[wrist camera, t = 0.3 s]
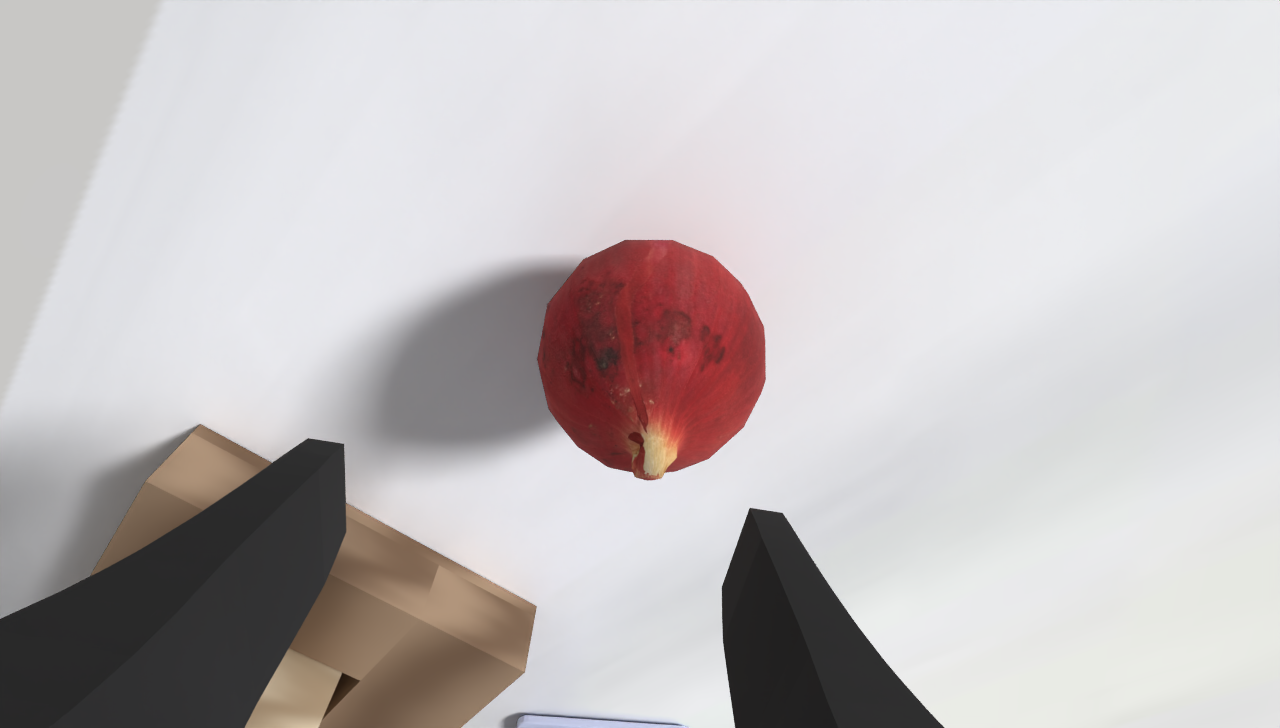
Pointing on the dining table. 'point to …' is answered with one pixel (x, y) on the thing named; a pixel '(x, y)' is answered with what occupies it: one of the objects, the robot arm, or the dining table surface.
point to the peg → (295, 694)
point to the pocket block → (363, 603)
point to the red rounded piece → (651, 356)
